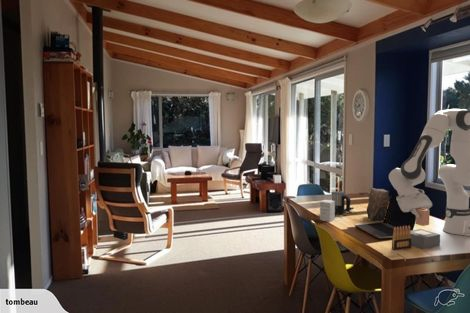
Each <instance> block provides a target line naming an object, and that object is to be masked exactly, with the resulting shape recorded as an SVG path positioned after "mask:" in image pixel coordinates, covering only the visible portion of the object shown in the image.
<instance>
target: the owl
mask: <svg viewBox="0 0 470 313" xmlns="http://www.w3.org/2000/svg"><path fill="white" fill-rule="evenodd" d="M389 193H390V190H386V189H384V188H374V187H370V192H369V194H368V204H367V208H366V215H367V219H368V220H369V222H384V221H383V220H384V218H385V215H386V212H387V208H389V205H390V198H389V196H390V195H389Z"/></svg>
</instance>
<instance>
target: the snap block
mask: <svg viewBox="0 0 470 313" xmlns="http://www.w3.org/2000/svg"><path fill="white" fill-rule="evenodd" d="M416 211H417V212H418V213H420V215H421V217H420V218H417V217H416V216H415V225H417V226H422V227H425V226H429V225H430V209H425V208H420V209H416Z"/></svg>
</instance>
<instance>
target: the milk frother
mask: <svg viewBox="0 0 470 313" xmlns="http://www.w3.org/2000/svg"><path fill="white" fill-rule="evenodd" d="M331 201H335V215H343V214H345V213H346V212H349V211H351V210H354V209H355V208H354V206H353V207H351V198H350V196H349V195H346V192H344V191H339V190H338V191H331ZM345 201H346V203H345Z"/></svg>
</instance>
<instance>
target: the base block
mask: <svg viewBox="0 0 470 313" xmlns="http://www.w3.org/2000/svg"><path fill="white" fill-rule="evenodd" d="M410 232H411V246H413V247H416V248H419V249H422V250H425V249H426V250H427V249H431V248H435V247H440V246H441V245H440V244H441V234H439V233H436V232H432V231H430V230H427V229H422V228H417V229H412V230H411V229H410Z"/></svg>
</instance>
